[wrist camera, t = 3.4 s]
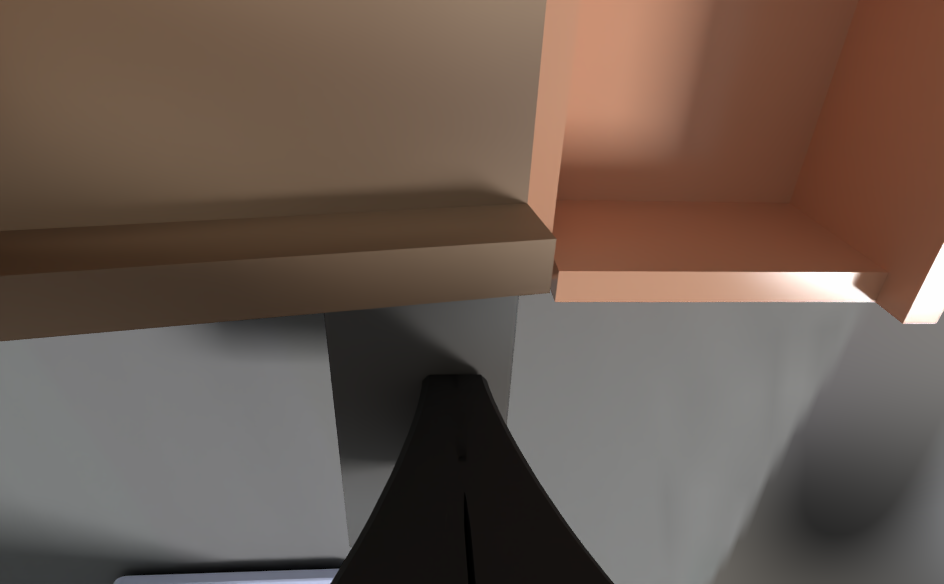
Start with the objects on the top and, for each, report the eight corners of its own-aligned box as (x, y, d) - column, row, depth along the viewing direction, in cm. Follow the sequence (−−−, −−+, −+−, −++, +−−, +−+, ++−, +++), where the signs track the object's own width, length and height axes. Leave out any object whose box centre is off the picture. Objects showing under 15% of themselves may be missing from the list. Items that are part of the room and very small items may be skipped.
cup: (791, 217, 14) (935, 323, 10) (497, 214, 13) (525, 325, 9) (977, -316, 9) (1390, -515, 5) (535, -355, 8) (623, -609, 5)
